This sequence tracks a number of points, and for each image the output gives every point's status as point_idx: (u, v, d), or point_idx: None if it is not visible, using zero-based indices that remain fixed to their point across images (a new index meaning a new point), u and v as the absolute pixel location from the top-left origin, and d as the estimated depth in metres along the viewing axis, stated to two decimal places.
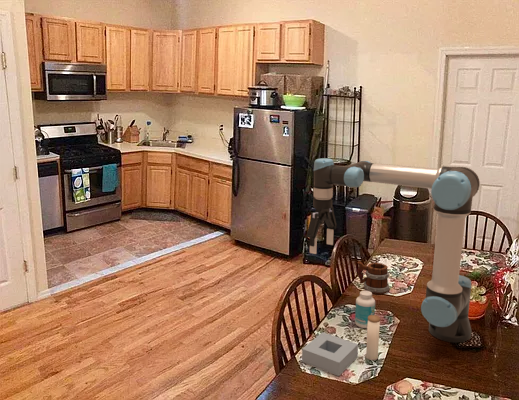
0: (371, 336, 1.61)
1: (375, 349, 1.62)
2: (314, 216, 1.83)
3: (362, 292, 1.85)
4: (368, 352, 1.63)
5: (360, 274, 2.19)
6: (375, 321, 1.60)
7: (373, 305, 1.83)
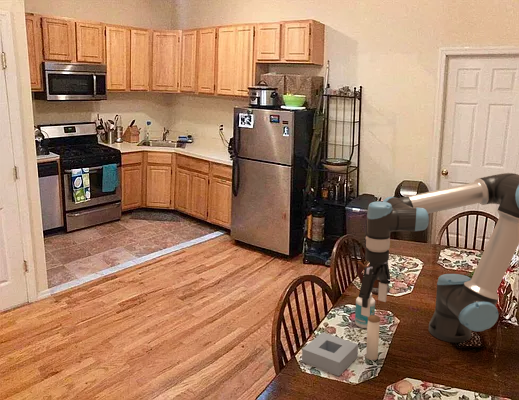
0: (371, 336, 1.61)
1: (375, 349, 1.62)
2: (368, 272, 1.52)
3: None
4: (368, 352, 1.63)
5: (360, 274, 2.19)
6: (375, 321, 1.60)
7: (373, 305, 1.83)
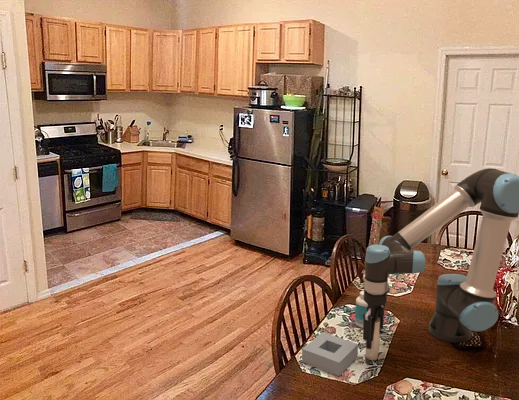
0: None
1: (375, 349, 1.62)
2: (367, 319, 1.56)
3: (362, 292, 1.85)
4: None
5: (360, 274, 2.19)
6: (375, 321, 1.60)
7: None
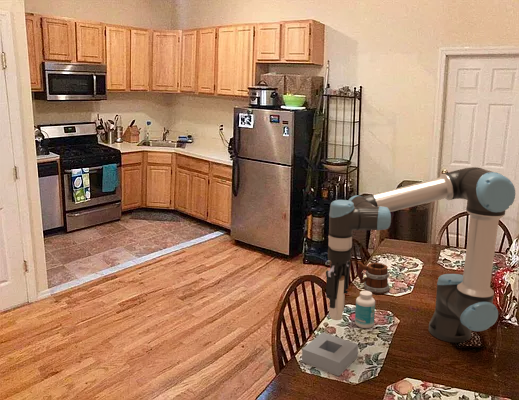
0: None
1: (339, 308, 1.57)
2: (330, 276, 1.51)
3: (362, 292, 1.85)
4: None
5: (360, 274, 2.19)
6: (339, 279, 1.55)
7: (373, 305, 1.83)
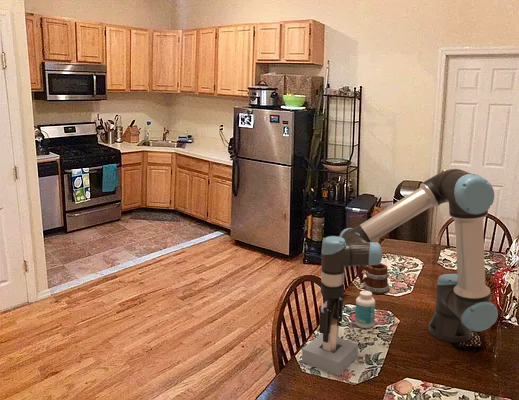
0: None
1: (332, 351, 1.61)
2: (323, 311, 1.54)
3: (362, 292, 1.85)
4: None
5: (360, 274, 2.19)
6: (332, 323, 1.58)
7: (373, 305, 1.83)
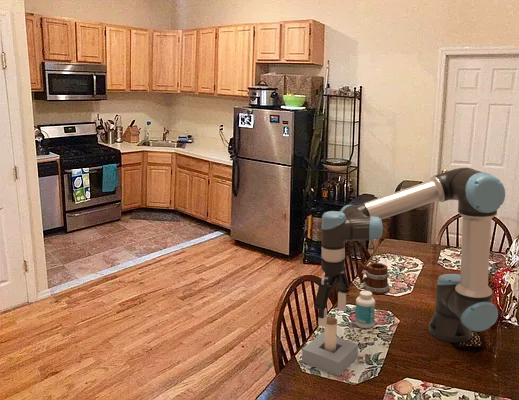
0: (328, 339, 1.60)
1: (332, 351, 1.61)
2: (323, 283, 1.51)
3: (362, 292, 1.85)
4: None
5: (360, 274, 2.19)
6: (332, 323, 1.58)
7: (373, 305, 1.83)
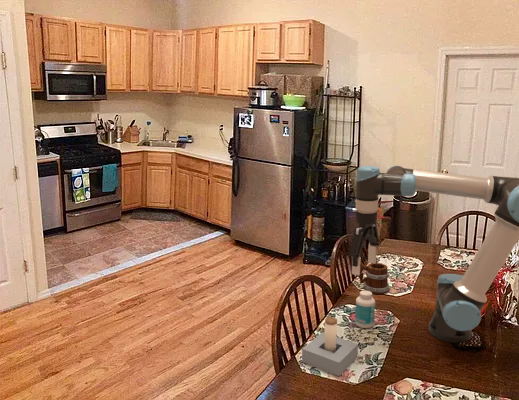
0: (328, 339, 1.60)
1: (332, 351, 1.61)
2: (358, 232, 1.60)
3: (362, 292, 1.85)
4: None
5: (360, 274, 2.19)
6: (332, 323, 1.58)
7: (373, 305, 1.83)
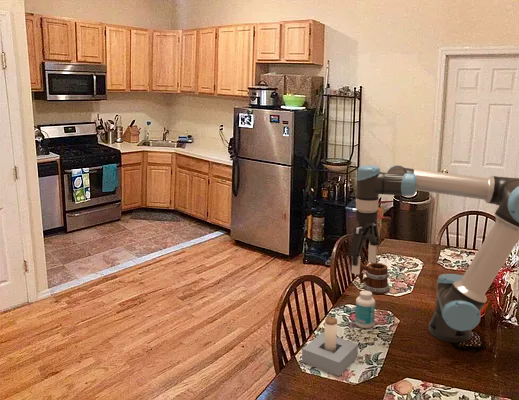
0: (328, 339, 1.60)
1: (332, 351, 1.61)
2: (358, 231, 1.60)
3: (362, 292, 1.85)
4: None
5: (360, 274, 2.19)
6: (332, 323, 1.58)
7: (373, 305, 1.83)
